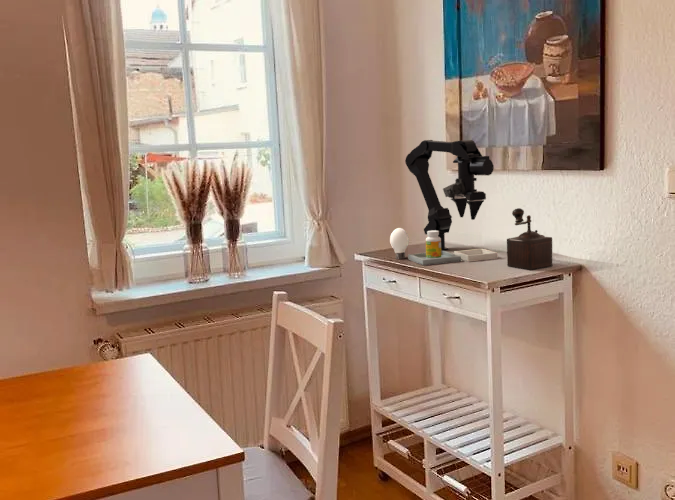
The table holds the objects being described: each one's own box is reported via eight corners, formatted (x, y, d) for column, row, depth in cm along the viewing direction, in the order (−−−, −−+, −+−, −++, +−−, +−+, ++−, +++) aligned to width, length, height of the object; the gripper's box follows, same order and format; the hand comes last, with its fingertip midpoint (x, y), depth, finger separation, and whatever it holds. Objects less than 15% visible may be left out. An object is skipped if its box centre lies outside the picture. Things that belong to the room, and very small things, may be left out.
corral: (454, 256, 244) (453, 251, 244) (482, 253, 247) (482, 248, 247) (468, 261, 234) (467, 255, 233) (497, 258, 236) (497, 252, 236)
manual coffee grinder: (555, 265, 218) (555, 209, 216) (530, 270, 213) (530, 213, 210) (518, 260, 232) (518, 207, 229) (494, 264, 226) (494, 210, 223)
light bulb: (408, 259, 244) (407, 228, 242) (390, 259, 245) (388, 229, 244) (409, 256, 251) (408, 226, 249) (391, 256, 252) (390, 227, 250)
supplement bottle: (423, 259, 239) (422, 232, 237) (429, 257, 243) (428, 230, 242) (438, 260, 236) (437, 232, 234) (443, 257, 241) (442, 230, 239)
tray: (407, 259, 245) (407, 254, 244) (444, 255, 248) (443, 250, 248) (422, 265, 231) (422, 260, 231) (460, 261, 235) (460, 256, 234)
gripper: (435, 176, 253) (436, 217, 255) (456, 177, 235) (458, 222, 237) (462, 174, 256) (463, 215, 258) (486, 175, 238) (487, 220, 240)
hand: (467, 218), depth 248 cm, fingers open, 9 cm apart
